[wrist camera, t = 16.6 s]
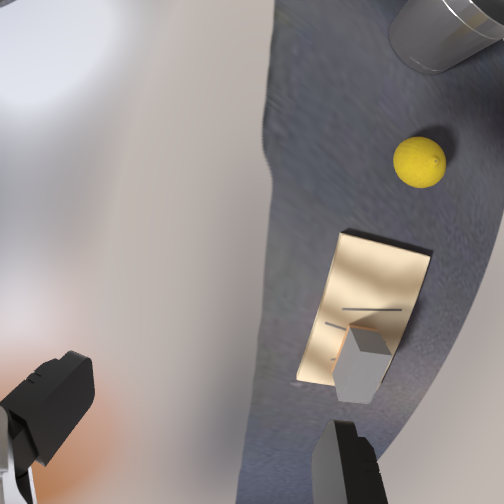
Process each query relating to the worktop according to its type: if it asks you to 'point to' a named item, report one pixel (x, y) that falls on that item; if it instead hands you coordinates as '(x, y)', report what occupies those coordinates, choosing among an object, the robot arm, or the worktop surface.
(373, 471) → the robot arm
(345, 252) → the board
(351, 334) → the block
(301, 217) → the worktop surface
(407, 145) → the lemon
